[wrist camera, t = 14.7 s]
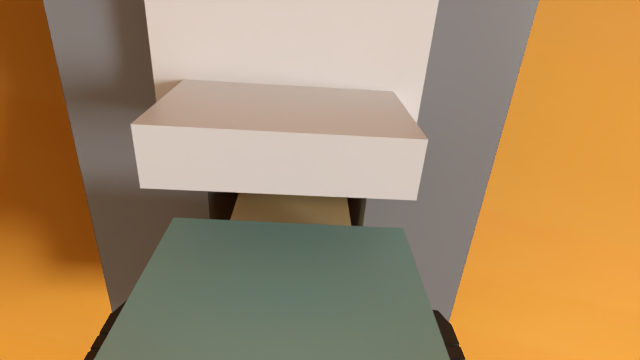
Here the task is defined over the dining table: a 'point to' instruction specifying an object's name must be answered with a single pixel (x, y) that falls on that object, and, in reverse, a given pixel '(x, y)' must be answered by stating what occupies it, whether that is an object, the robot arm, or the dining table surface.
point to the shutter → (286, 97)
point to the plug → (278, 289)
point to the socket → (164, 204)
